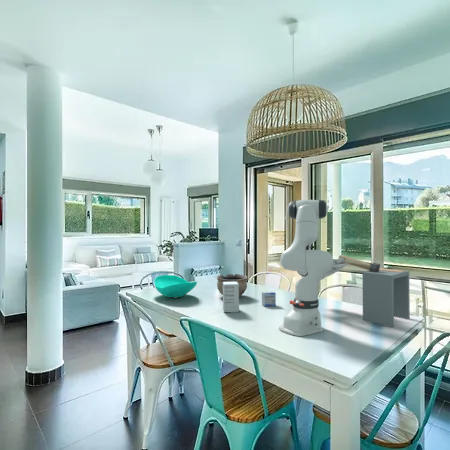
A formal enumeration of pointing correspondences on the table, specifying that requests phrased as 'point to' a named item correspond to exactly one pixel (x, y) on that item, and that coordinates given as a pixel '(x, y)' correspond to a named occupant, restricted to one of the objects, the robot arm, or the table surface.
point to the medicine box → (268, 299)
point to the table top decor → (173, 285)
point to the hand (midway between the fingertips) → (346, 258)
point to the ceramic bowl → (231, 278)
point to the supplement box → (230, 297)
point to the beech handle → (361, 264)
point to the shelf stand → (385, 296)
